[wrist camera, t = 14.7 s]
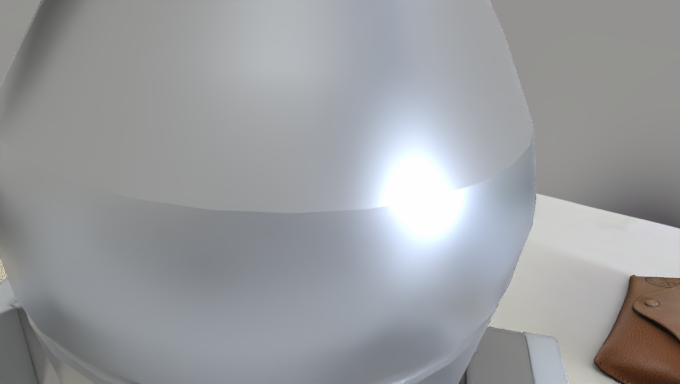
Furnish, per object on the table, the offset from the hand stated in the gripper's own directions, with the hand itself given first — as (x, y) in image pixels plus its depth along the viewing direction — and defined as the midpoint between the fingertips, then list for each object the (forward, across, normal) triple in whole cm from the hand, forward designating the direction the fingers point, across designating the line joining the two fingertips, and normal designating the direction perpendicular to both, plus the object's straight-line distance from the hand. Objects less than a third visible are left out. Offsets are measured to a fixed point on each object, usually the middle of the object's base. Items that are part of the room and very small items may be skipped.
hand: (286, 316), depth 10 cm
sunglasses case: (+36, -28, +28) cm, 53 cm away
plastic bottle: (-1, 0, +11) cm, 11 cm away
